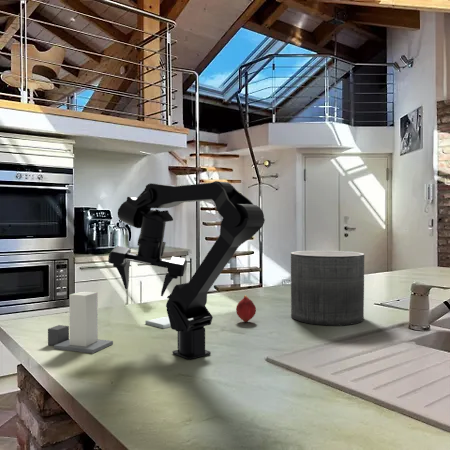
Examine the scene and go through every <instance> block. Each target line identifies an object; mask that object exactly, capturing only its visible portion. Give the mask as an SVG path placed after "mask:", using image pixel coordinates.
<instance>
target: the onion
mask: <svg viewBox="0 0 450 450" xmlns="http://www.w3.org/2000/svg"><path fill="white" fill-rule="evenodd" d="M235 312H236V315H237V316H238V318H239V319H240V320H241V321H243V322H244V323H247V322H249V321H251V320H252V319H253V318H254V317H255V316H256V313H257V309H256V305H255V303H254V302H253V300H251V299H250V298H249V297H248V295H246V294H244V296H243V298H242V299H241V300H240V301H239V302H238V303H237V305H236V308H235Z"/></svg>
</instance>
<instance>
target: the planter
mask: <svg viewBox="0 0 450 450" xmlns="http://www.w3.org/2000/svg"><path fill="white" fill-rule="evenodd" d="M364 303H365V253H363V252H357V251H347V250H344V251H343V250H300V251H299V250H298V251H292V252H290V304H291V305H290V308H291V309H290V313H291V314H290V316H291V318H292V319H294V320H295V321H297V322H301V323H305V324H309V325H315V326H316V325H317V326H328V327H329V326H333V327H335V326H339V327H340V325H342V326H350V325H351V326H352V325H356V324H360V323H361V322H363V321H364V318H365V316H364V315H365V314H364V312H365V311H364V310H365V309H364V307H365V306H364V305H365V304H364Z"/></svg>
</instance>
